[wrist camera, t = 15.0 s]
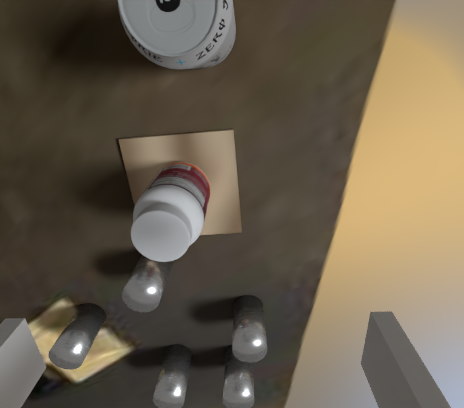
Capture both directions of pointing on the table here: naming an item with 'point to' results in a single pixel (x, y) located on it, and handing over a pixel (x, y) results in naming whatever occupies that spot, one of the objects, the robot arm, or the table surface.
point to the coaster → (199, 154)
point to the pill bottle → (171, 212)
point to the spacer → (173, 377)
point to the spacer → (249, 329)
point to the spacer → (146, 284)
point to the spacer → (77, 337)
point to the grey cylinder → (237, 382)
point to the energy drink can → (180, 30)
